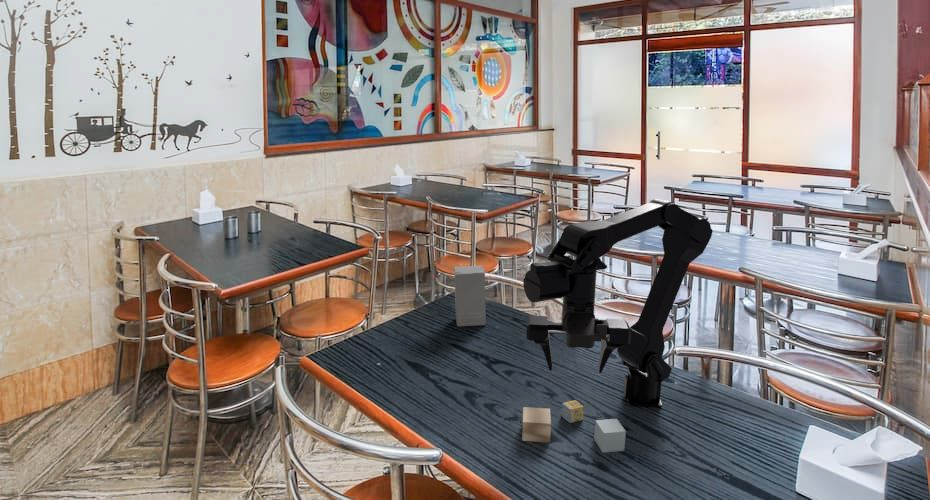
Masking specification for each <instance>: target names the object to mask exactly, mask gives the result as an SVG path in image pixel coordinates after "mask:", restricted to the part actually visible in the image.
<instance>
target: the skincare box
mask: <svg viewBox="0 0 930 500" xmlns="http://www.w3.org/2000/svg"><path fill="white" fill-rule="evenodd" d="M453 272H454V299H455V301H454V303H455V305H454V306H455V320H456V321H455V322H456V327H473V326H475V327H476V326H486V324H487V323H486V322H487V321H486V320H487V319H486V317H487V316H486V314H487V313H486V282H485V280H486V277H485V276H486V273H485V269H484V265H471V266H470V265H469V266H468V265H466V266H454V271H453Z"/></svg>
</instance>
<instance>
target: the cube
mask: <svg viewBox="0 0 930 500" xmlns="http://www.w3.org/2000/svg"><path fill="white" fill-rule="evenodd" d="M626 434H627V431H626V429H625V428H624V426H622V424H621V423H620V421H619V420H618V418H609V419H596V420H595V424H594V437H593V439H594V441H595V443H596V444H597V446H598V447H599V450H600V451H601V452H602V454H604V453H611V452H612V453H613V452H614V453H615V452H624V451H625V446H626Z"/></svg>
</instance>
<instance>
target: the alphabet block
mask: <svg viewBox="0 0 930 500" xmlns="http://www.w3.org/2000/svg"><path fill="white" fill-rule="evenodd" d="M584 408H585V407H584V405H583V404H581V403H580V402H579V401H577V400H576V399H574V400H570V401H566V402H562V403H561V417H562V418H563V419H564V420H565V421H567V422H568V424H572V423H575V422H576V423H577V422H581V421H583V420H584Z"/></svg>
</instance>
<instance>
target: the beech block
mask: <svg viewBox="0 0 930 500" xmlns="http://www.w3.org/2000/svg"><path fill="white" fill-rule="evenodd" d="M551 425H552V419H551V408H545V407H544V408H543V407H526V406H525V407H524V406H523V407H522V435H521V436H522V437H521V438H522V440H521V441H525V442H538V443H551V433H552V432H551V431H552V430H551V429H552V428H551V427H552V426H551Z"/></svg>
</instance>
